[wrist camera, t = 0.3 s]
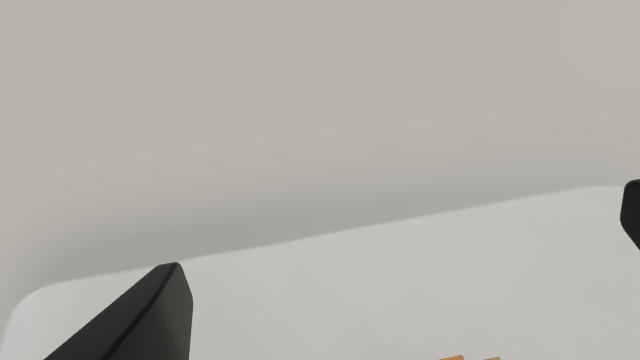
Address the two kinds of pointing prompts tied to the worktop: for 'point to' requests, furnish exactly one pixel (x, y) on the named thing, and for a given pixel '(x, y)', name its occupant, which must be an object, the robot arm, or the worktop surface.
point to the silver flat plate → (454, 358)
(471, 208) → the worktop surface
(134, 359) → the robot arm
